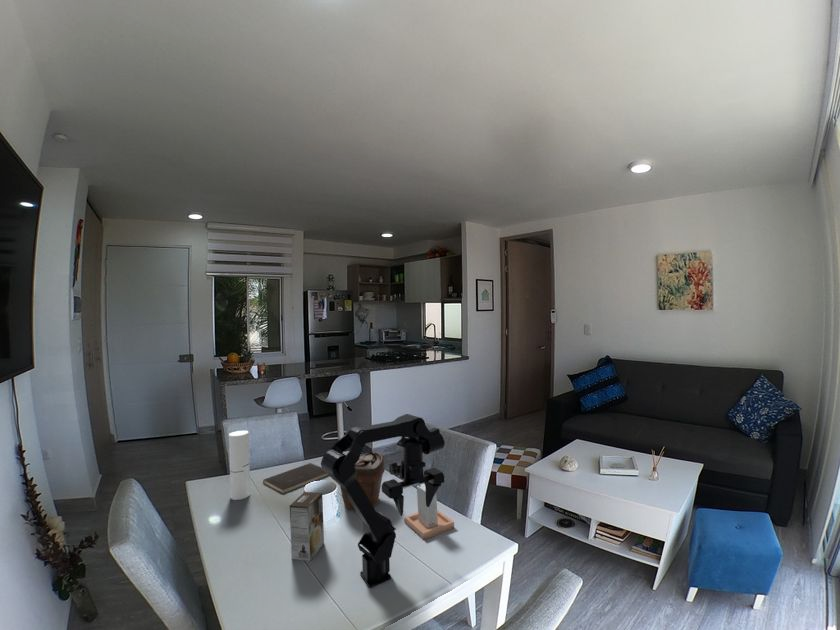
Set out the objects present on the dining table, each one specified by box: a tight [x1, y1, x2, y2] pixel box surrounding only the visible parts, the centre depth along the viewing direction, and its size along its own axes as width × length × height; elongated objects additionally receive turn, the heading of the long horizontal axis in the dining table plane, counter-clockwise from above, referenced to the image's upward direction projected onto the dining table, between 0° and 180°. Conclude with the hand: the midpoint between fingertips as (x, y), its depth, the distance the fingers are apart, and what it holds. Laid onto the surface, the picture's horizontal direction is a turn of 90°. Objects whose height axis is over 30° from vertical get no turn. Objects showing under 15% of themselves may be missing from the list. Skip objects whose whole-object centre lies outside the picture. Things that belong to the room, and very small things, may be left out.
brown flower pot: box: [339, 451, 386, 511], centre depth 148 cm, size 18×20×18 cm
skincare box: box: [416, 483, 438, 528], centre depth 131 cm, size 6×4×12 cm
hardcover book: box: [262, 462, 329, 494], centre depth 171 cm, size 16×23×2 cm
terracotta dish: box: [404, 509, 455, 540], centre depth 131 cm, size 12×12×2 cm
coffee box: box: [289, 491, 325, 562], centre depth 118 cm, size 9×6×16 cm
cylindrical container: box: [228, 430, 251, 501], centre depth 156 cm, size 7×7×25 cm
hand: (414, 511), depth 115 cm, fingers open, 9 cm apart
